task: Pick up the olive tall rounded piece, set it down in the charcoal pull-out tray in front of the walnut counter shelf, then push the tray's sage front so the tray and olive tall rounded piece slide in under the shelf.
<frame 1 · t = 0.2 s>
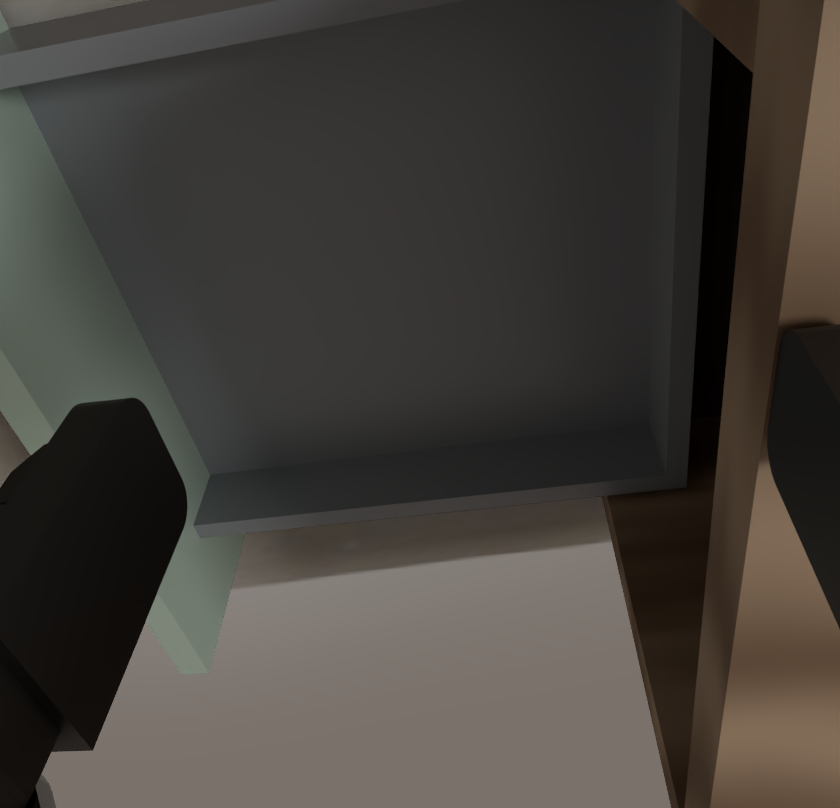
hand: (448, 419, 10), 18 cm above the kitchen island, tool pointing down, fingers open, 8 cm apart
cabinet: (816, 189, 26), on the kitchen island
drawer: (357, 355, 26), point 4 cm above the kitchen island, slide at 11.0 cm
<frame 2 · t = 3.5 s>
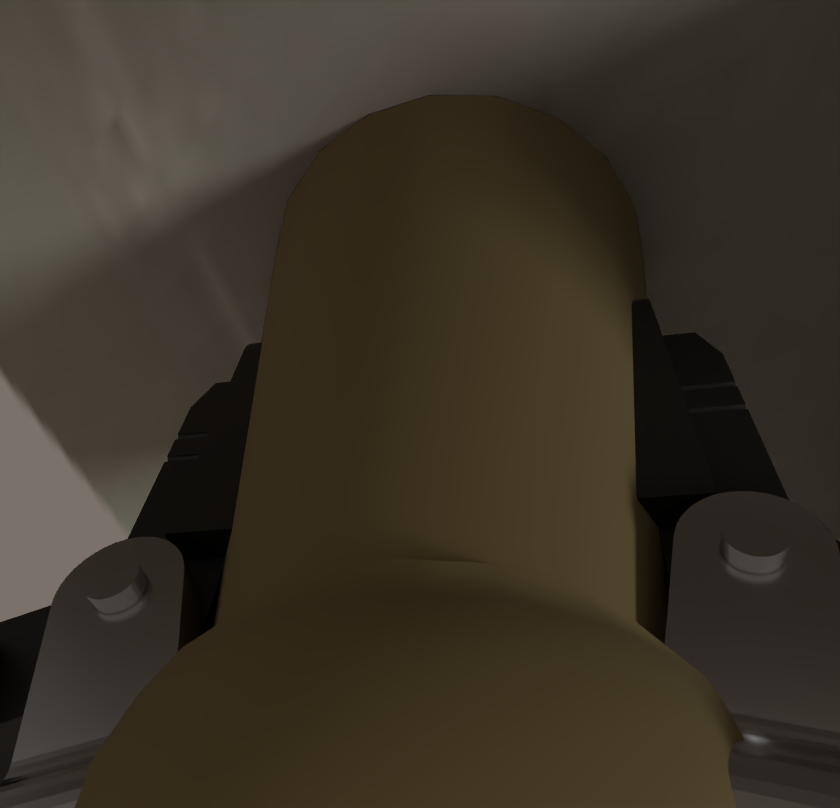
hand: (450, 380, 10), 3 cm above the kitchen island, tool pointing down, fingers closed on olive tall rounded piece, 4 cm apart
olive tall rounded piece: (457, 275, 13), on the kitchen island, touching gripper
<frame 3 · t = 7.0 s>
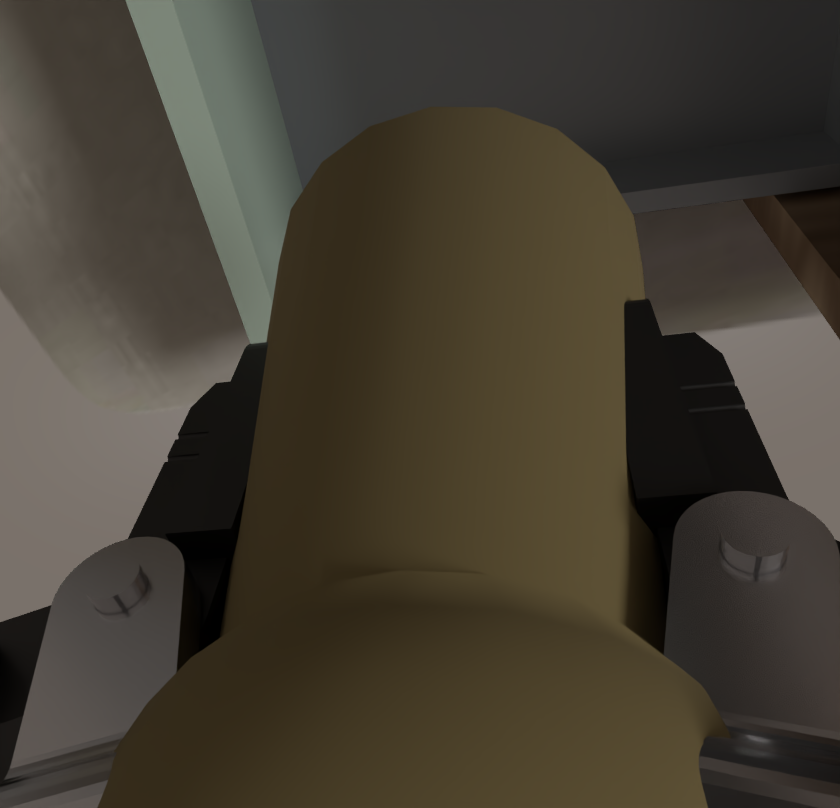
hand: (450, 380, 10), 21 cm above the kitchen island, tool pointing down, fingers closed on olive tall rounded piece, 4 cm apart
olive tall rounded piece: (458, 284, 13), point 18 cm above the kitchen island, touching gripper
when the fingers open (6 cm above the kitchen island, at t = 10.3 s): olive tall rounded piece stays where it is, resting on drawer.
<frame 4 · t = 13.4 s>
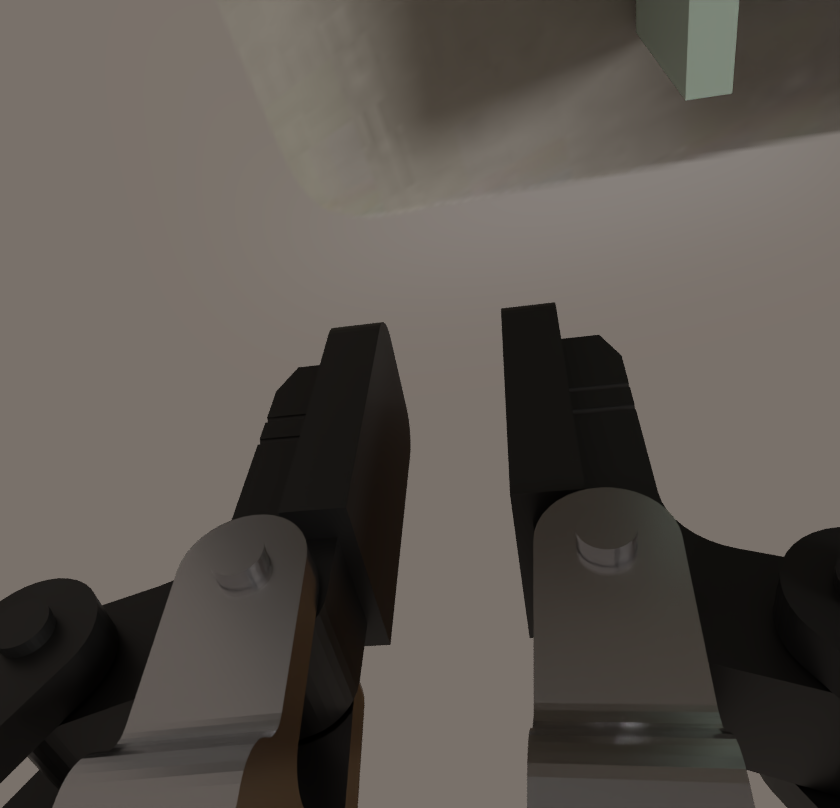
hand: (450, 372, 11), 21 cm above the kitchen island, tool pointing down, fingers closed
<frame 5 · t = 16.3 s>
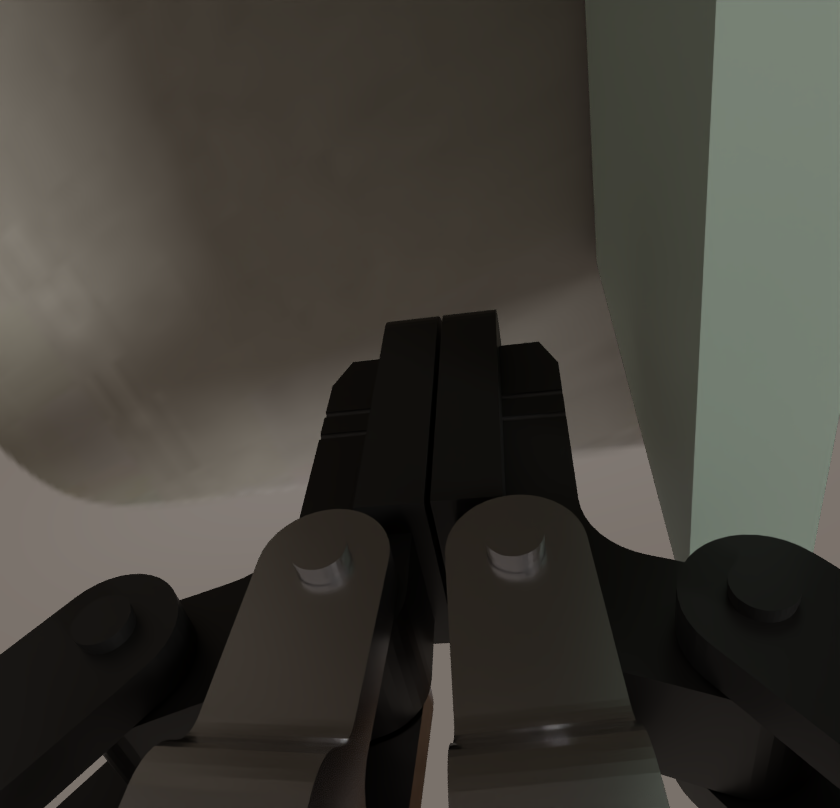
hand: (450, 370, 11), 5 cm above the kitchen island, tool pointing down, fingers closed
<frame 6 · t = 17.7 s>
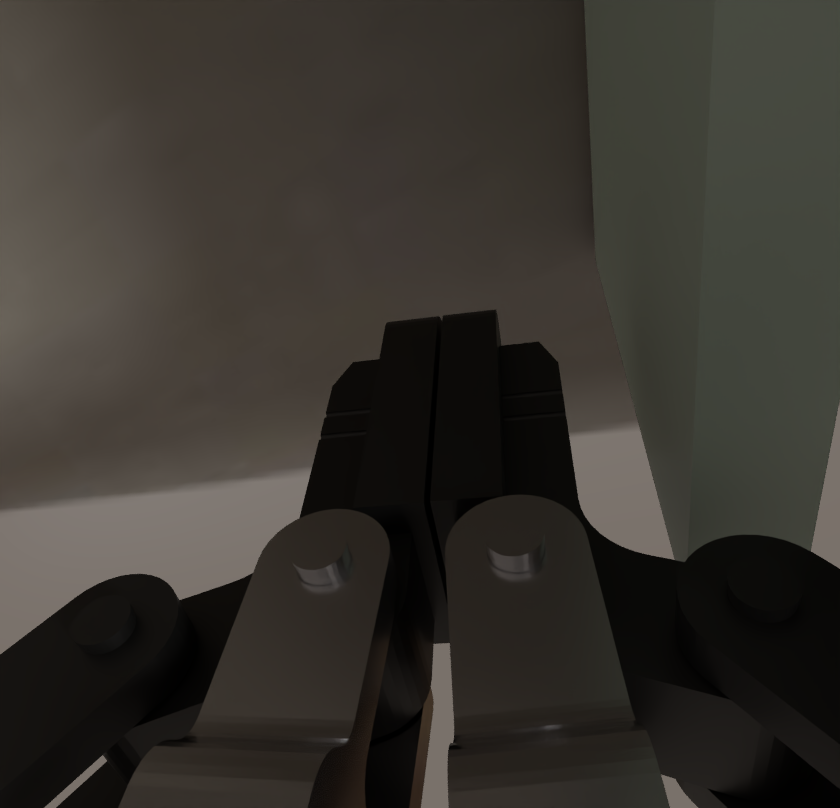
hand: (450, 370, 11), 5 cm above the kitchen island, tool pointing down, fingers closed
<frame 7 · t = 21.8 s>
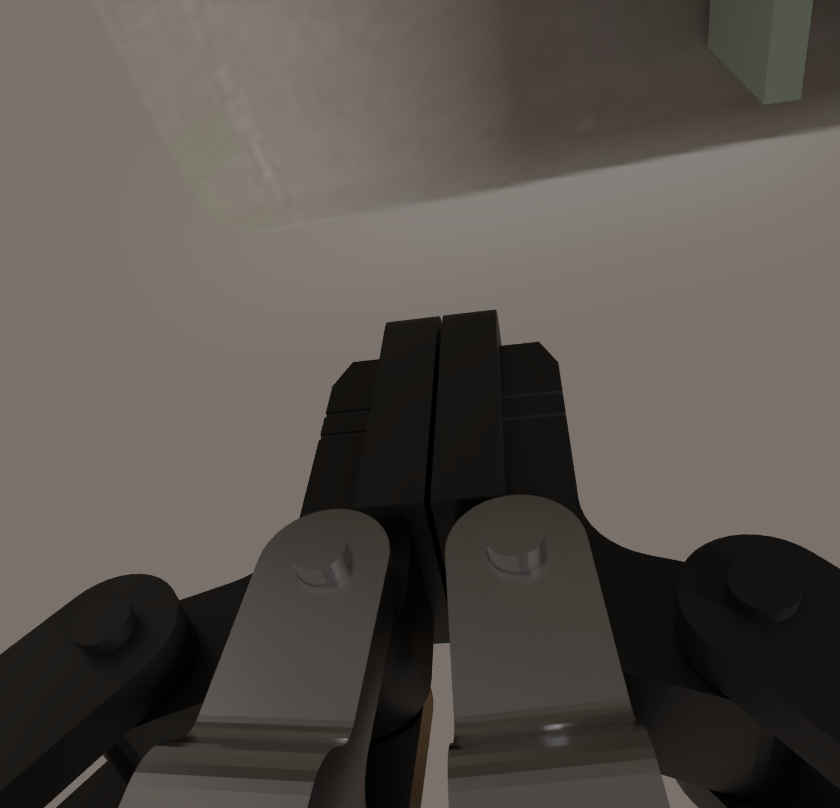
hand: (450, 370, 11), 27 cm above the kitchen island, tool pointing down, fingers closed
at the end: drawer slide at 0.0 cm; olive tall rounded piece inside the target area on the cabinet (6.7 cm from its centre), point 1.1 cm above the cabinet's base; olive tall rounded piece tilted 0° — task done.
